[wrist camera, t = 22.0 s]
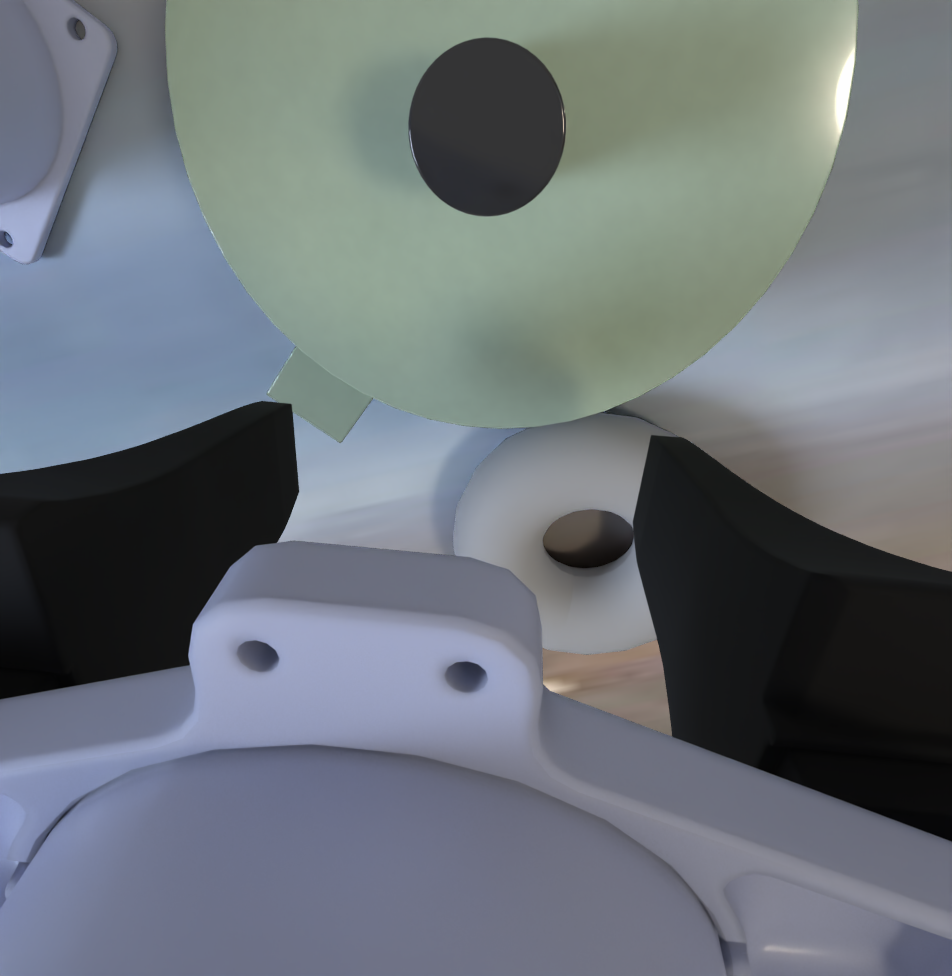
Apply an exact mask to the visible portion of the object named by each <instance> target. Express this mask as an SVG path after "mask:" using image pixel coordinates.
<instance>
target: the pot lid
mask: <svg viewBox="0 0 952 976" xmlns="http://www.w3.org/2000/svg"><path fill="white" fill-rule="evenodd" d="M858 11H859V5H858V0H167V1H166V16H165V43H166V64H167V81H168V88H169V94H170V101H171V107H172V113H173V120H174V126H175V131H176V135H177V138H178V142H179V146H180V150H181V153H182V157H183V161H184V164H185V168H186V172H187V176H188V178H189V181H190V183H191V186H192V188H193V191H194V194H195V196H196V199H197V201H198V204H199V207H200V209H201V212H202V214H203V217H204V219H205V221H206V223H207V225H208V227H209V229H210V231H211V233H212V235H213V237H214V239H215V240H216V242H217V244H218V246H219V248H220V250H221V252H222V254H223V256H224V258H225V259H226V261H227V262H228V264H229V265H230V267H231V268H232V270H233V271H234V273H235V275H236V276H237V278H238V279H239V281H240V282H241V284H242V285H243V287H244V288H245V290H246V291H247V293H248V294H249V295H250V296H251V298H252V299H253V300H254V301H255V302H256V304H257V305H258V306H259V307H260V308H261V310H262V311H263V312H264V313H265V314H266V316H267V317H268V318H269V319H270V320H271V322H272V323H273V324H274V325H275V326H276V327H277V328H278V329H279V330H280V331H281V332H282V333H283V334H284V335H285V336H286V337H287V338H288V339H289V340H290V341H291V342H293V343H294V344H295V345H296V346H297V347H298V348H299V349H300V350H301V351H302V352H303V353H304V354H306V355H307V356H308V357H310V358H311V359H312V360H314V361H315V362H316V363H317V364H319V365H320V366H321V367H323V368H324V369H325V370H326V371H328V372H329V373H330V374H332V375H333V376H335V377H337V378H338V379H340V380H342V381H343V382H345V383H347V384H348V385H350V386H352V387H353V388H355V389H357V390H358V391H360V392H361V393H363V394H365V395H368V396H370V397H372V398H374V399H376V400H379V401H381V402H383V403H385V404H387V405H389V406H392V407H394V408H396V409H399V410H402V411H405V412H409V413H412V414H415V415H418V416H421V417H424V418H427V419H431V420H436V421H441V422H446V423H451V424H456V425H461V426H470V427H484V428H497V429H502V428H525V427H538V426H544V425H550V424H556V423H562V422H568V421H572V420H576V419H579V418H583V417H586V416H590V415H593V414H596V413H600V412H603V411H606V410H609V409H611V408H613V407H616V406H618V405H620V404H623V403H625V402H628V401H630V400H632V399H635V398H637V397H639V396H641V395H643V394H645V393H646V392H648V391H650V390H652V389H653V388H655V387H657V386H659V385H661V384H662V383H664V382H666V381H668V380H669V379H671V378H673V377H674V376H676V375H677V374H678V373H680V372H681V371H683V370H684V369H685V368H687V367H688V366H689V365H691V364H692V363H694V362H695V361H696V360H698V359H699V358H700V357H702V356H703V355H705V354H706V353H707V352H708V351H709V350H710V349H711V348H712V347H713V346H715V345H716V344H717V343H718V342H719V341H720V340H721V339H722V338H723V337H724V336H725V335H727V334H728V333H729V332H730V331H731V330H732V329H733V328H734V327H735V326H736V325H737V324H738V323H739V322H740V321H741V320H742V318H743V317H744V316H745V315H746V314H747V313H748V312H749V310H750V309H751V308H752V307H753V306H754V305H755V304H756V302H757V301H758V300H759V299H760V298H761V297H762V296H763V294H764V293H765V292H766V291H767V289H768V288H769V286H770V285H771V283H772V282H773V281H774V279H775V278H776V276H777V275H778V273H779V272H780V270H781V269H782V268H783V266H784V265H785V263H786V262H787V260H788V259H789V258H790V256H791V254H792V253H793V251H794V249H795V247H796V245H797V243H798V242H799V240H800V238H801V236H802V234H803V232H804V231H805V229H806V227H807V225H808V223H809V221H810V220H811V218H812V216H813V214H814V212H815V209H816V207H817V204H818V202H819V200H820V197H821V195H822V192H823V190H824V187H825V185H826V182H827V180H828V178H829V175H830V173H831V170H832V168H833V165H834V161H835V157H836V154H837V150H838V147H839V143H840V140H841V136H842V133H843V129H844V126H845V122H846V119H847V114H848V108H849V102H850V96H851V90H852V84H853V78H854V72H855V66H856V52H857V31H858Z"/></svg>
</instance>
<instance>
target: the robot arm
mask: <svg viewBox="0 0 952 976" xmlns="http://www.w3.org/2000/svg"><path fill="white" fill-rule="evenodd" d="M78 20H80V21H81V22H82V23H83V24H84V27H85V30H86V33H85V37H84V38H83V40H81V39H80V38H79V36H78V35H77V33H76V30H75V23H76V22H77V21H78ZM117 48H118V47H117V42H116V38H115V36H114V35H113V33H112V31H111V30H110V29H109V28H108V27H107V26H106V25H105V24H104V23H102V22H101V21H100V20H98V19H97V18H96V17H94V16H93V15H92V14H90V13H89V12H88V11H86V10H85V9H84V8H83V7H81V6H80V5H79V4H77V3H76V2H75V1H73V0H0V251H1V252H3V253H4V254H6V255H7V256H9V257H10V258H12V259H13V260H15V261H17V262H19V263H21V264H30V263H33V262H36V261H38V260H39V259H40V257H41V255H42V253H43V250H44V247H45V245H46V242H47V239H48V237H49V234H50V231H51V229H52V226H53V223H54V221H55V218H56V215H57V213H58V210H59V207H60V205H61V202H62V199H63V196H64V194H65V191H66V188H67V186H68V183H69V180H70V178H71V175H72V172H73V170H74V167H75V164H76V162H77V159H78V156H79V154H80V151H81V148H82V146H83V143H84V140H85V138H86V135H87V132H88V130H89V127H90V124H91V122H92V119H93V116H94V113H95V111H96V108H97V105H98V103H99V100H100V97H101V95H102V92H103V89H104V87H105V84H106V81H107V79H108V76H109V73H110V71H111V68H112V65H113V63H114V60H115V57H116V54H117ZM5 232H7V233H8V234H9V235H10V236H11V237H12V240H13V245H12V244H10V243H9V242H8V241H7V240H6V237H5ZM298 493H299V485H298V473H297V461H296V449H295V437H294V425H293V413H292V404H289V403H277V402H266V401H261V402H256V403H252V404H249V405H246V406H243V407H240V408H237V409H235V410H232V411H229V412H227V413H224V414H222V415H219V416H217V417H214V418H212V419H210V420H207V421H205V422H202V423H200V424H197V425H195V426H192V427H190V428H187V429H184V430H182V431H179V432H176V433H173V434H171V435H168V436H165V437H162V438H159V439H157V440H154V441H151V442H148V443H145V444H142V445H139V446H136V447H133V448H129V449H126V450H123V451H119V452H115V453H111V454H107V455H104V456H100V457H96V458H92V459H87V460H82V461H77V462H72V463H66V464H61V465H56V466H51V467H45V468H40V469H34V470H27V471H20V472H12V473H5V474H0V976H952V572H950V571H946V570H942V569H938V568H935V567H931V566H928V565H925V564H921V563H918V562H915V561H912V560H909V559H905V558H902V557H899V556H896V555H893V554H890V553H887V552H885V551H882V550H879V549H876V548H873V547H871V546H868V545H866V544H863V543H861V542H858V541H856V540H853V539H851V538H848V537H846V536H843V535H841V534H839V533H836V532H834V531H832V530H830V529H828V528H825V527H823V526H821V525H819V524H817V523H815V522H813V521H811V520H809V519H807V518H805V517H803V516H801V515H799V514H798V513H796V512H794V511H792V510H790V509H788V508H786V507H785V506H783V505H781V504H780V503H778V502H776V501H775V500H773V499H771V498H770V497H768V496H767V495H765V494H764V493H762V492H760V491H759V490H757V489H756V488H754V487H753V486H751V485H750V484H748V483H747V482H745V481H744V480H742V479H741V478H740V477H738V476H737V475H735V474H734V473H733V472H731V471H730V470H728V469H727V468H726V467H724V466H723V465H722V464H720V463H719V462H718V461H716V460H715V459H714V458H712V457H711V456H710V455H708V454H707V453H705V452H704V451H703V450H701V449H700V448H699V447H697V446H696V445H694V444H693V443H691V442H690V441H688V440H686V439H684V438H681V437H670V436H658V435H651V438H650V442H649V447H648V452H647V457H646V461H645V466H644V471H643V475H642V480H641V485H640V490H639V494H638V499H637V504H636V508H635V513H634V518H633V532H634V543H635V552H636V561H637V565H638V569H639V573H640V577H641V581H642V585H643V589H644V592H645V596H646V600H647V603H648V607H649V611H650V615H651V618H652V622H653V626H654V629H655V633H656V637H657V641H658V644H659V648H660V653H661V658H662V662H663V668H664V675H665V682H666V689H667V696H668V704H669V711H670V720H671V728H672V737H671V736H669V735H666V734H663V733H661V732H658V731H655V730H653V729H650V728H647V727H645V726H642V725H639V724H637V723H634V722H631V721H629V720H626V719H623V718H621V717H618V716H615V715H613V714H610V713H607V712H605V711H602V710H599V709H597V708H594V707H591V706H589V705H586V704H583V703H581V702H578V701H575V700H573V699H570V698H567V697H565V696H562V695H559V694H557V693H554V692H551V691H549V690H548V689H547V688H546V687H545V686H544V685H543V660H542V624H541V619H540V614H539V609H538V604H537V599H536V595H535V594H534V593H533V592H532V591H531V590H530V589H529V588H528V587H526V586H525V585H524V584H523V583H522V582H521V581H520V580H519V579H518V578H517V577H516V576H515V575H514V574H513V573H512V572H511V571H510V570H509V569H506V568H502V567H499V566H496V565H493V564H490V563H487V562H484V561H480V560H477V559H474V558H471V557H463V556H452V555H442V554H431V553H420V552H410V551H399V550H388V549H378V548H367V547H356V546H346V545H335V544H324V543H314V542H303V541H288V542H280V543H277V542H278V540H279V538H280V537H281V535H282V533H283V531H284V529H285V527H286V525H287V522H288V520H289V517H290V515H291V512H292V510H293V507H294V504H295V501H296V499H297V496H298Z"/></svg>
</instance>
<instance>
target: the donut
mask: <svg viewBox="0 0 952 976" xmlns="http://www.w3.org/2000/svg"><path fill="white" fill-rule="evenodd" d="M651 435H658V436H670V437H678V436H677V435H675V434H672V433H670V432H668V431H666V430H664V429H661V428H659V427H657V426H655V425H653V424H650V423H648V422H646V421H644V420H642V419H639V418H637V417H630V416H622V415H614V414H606V413H596V414H593V415H590V416H586V417H583V418H579V419H576V420H572V421H568V422H562V423H556V424H550V425H544V426H538V427H529V428H527V429H525V430H523V431H521V432H519V433H516V434H514V435H512V436H510V437H508V438H506V439H505V440H504V441H503V442H502V443H501V444H500V445H499V446H498V447H497V448H496V449H495V450H494V451H493V452H492V453H490V454H489V455H488V456H487V457H486V458H485V459H484V460H483V461H482V462H481V463H480V464H479V465H478V466H477V467H476V469H475V471H474V473H473V475H472V477H471V479H470V481H469V483H468V485H467V487H466V489H465V491H464V493H463V495H462V497H461V499H460V500H459V502H458V504H457V507H456V516H455V526H454V536H453V548H454V552H455V556H463V557H471V558H474V559H477V560H480V561H484V562H487V563H490V564H493V565H496V566H499V567H502V568H506V569H509V570H510V571H511V572H512V573H513V574H514V575H515V576H516V577H517V578H518V579H519V580H520V581H521V582H522V583H523V584H524V585H525V586H526V587H528V588H529V589H530V590H531V591H532V592H533V593H534V594H535V595H536V599H537V604H538V609H539V614H540V619H541V624H542V647H543V648H545V649H548V650H553V651H561V652H569V653H577V654H584V655H589V654H599V653H608V652H618V651H626V650H628V649H631V648H634V647H637V646H640V645H643V644H645V643H648V642H651V641H654V640H657V637H656V633H655V629H654V626H653V622H652V618H651V615H650V611H649V607H648V603H647V600H646V596H645V592H644V589H643V585H642V581H641V577H640V573H639V569H638V565H637V561H636V552H635V543H634V538H633V542H632V545H631V547H630V548H629V549H628V551H627V552H626V553H625V554H624V555H622V556H621V557H620V558H618V559H617V560H616V561H613V562H611V563H608V564H606V565H603V566H600V567H592V568H578V567H570V566H567V565H565V564H562V563H560V562H557V561H555V560H554V559H553V558H551V557H550V556H549V555H548V553H547V551H546V550H545V548H544V546H543V536H544V534H545V533H546V531H547V529H548V528H549V526H550V525H551V524H552V523H553V522H555V521H556V520H557V519H558V518H560V517H563V516H565V515H567V514H569V513H572V512H575V511H582V510H589V509H595V510H603V511H610V512H613V513H615V514H617V515H620V516H621V517H622V518H624V519H625V520H626V521H627V522H628V523H629V524H630V525H631V526H632V528H633V518H634V513H635V508H636V504H637V499H638V494H639V490H640V485H641V480H642V475H643V471H644V466H645V461H646V457H647V452H648V447H649V442H650V438H651Z"/></svg>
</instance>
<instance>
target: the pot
mask: <svg viewBox="0 0 952 976" xmlns="http://www.w3.org/2000/svg"><path fill="white" fill-rule="evenodd" d="M267 395H268V396H269V397H271V398H272V399H274V400H275V401H277V402H278V403H289V404H292V412H293V413H295V414H297V415H298V416H300V417H301V418H303V419H304V420H306V421H307V422H309V423H310V424H312V425H313V426H315V427H316V428H318V429H319V430H321V431H322V432H324V433H325V434H327V435H328V436H330V437H331V438H333V439H334V440H336V441H338V442H339V443H341V442H342V441H343V440H344V438H345V437H346V436H347V434H348V433H349V431H350V430H351V429H352V427H353V426H354V424H355V423H356V422H357V420H358V419H359V418H360V416H361V415H362V413H363V412H364V411H365V409H366V408H367V406H368V405H369V404H370V402H371V401H372V399H373V398H372V397H370V396H368V395H365V394H363V393H361V392H360V391H358V390H357V389H355V388H353V387H352V386H350V385H348V384H347V383H345V382H343V381H342V380H340V379H338V378H337V377H335V376H333V375H332V374H330V373H329V372H328V371H326V370H325V369H324V368H323V367H321V366H320V365H319V364H317V363H316V362H315V361H314V360H312V359H311V358H310V357H308V356H307V355H306V354H304V353H303V352H302V351H301V350H300V349H299V348H298V347H297V346H295V348H294V350H293V351H292V353H291V354H290V356H289V358H288V359H287V361H286V363H285V364H284V366H283V367H282V369H281V371H280V372H279V374H278V375H277V377H276V379H275V380H274V382H273V383H272V385H271V387H270V388H269V390H268V392H267Z"/></svg>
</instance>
